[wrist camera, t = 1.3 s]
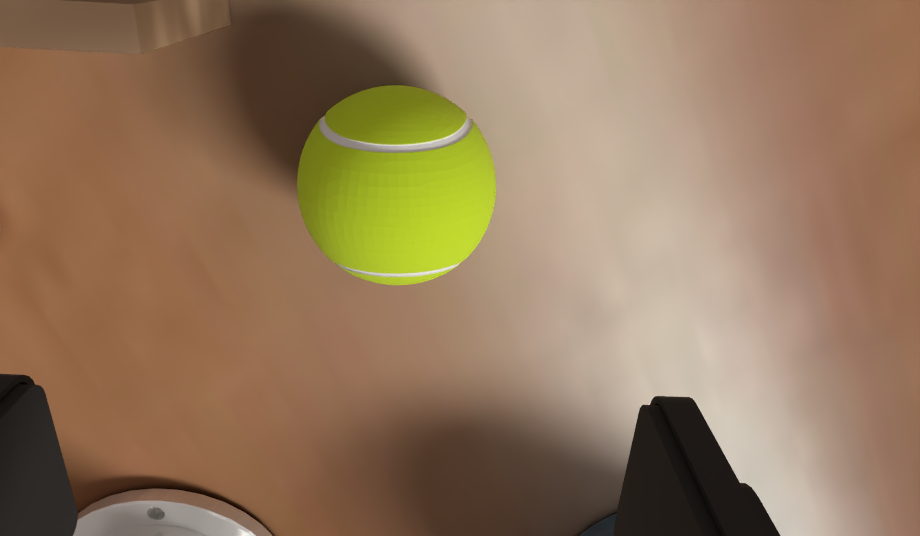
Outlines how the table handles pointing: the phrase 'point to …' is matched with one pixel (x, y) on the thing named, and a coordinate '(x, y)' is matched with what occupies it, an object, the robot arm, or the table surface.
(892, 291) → the table surface
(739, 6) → the table surface
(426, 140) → the tennis ball
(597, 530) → the canister
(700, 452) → the robot arm
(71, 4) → the dowel ramp
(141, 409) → the table surface
